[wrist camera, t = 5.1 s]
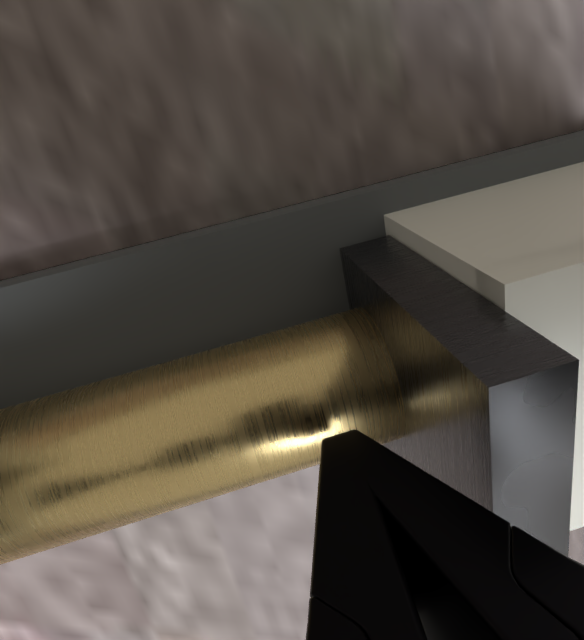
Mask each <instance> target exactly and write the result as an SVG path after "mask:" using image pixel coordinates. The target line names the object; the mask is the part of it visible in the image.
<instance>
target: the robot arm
mask: <svg viewBox="0 0 584 640" xmlns="http://www.w3.org/2000/svg"><path fill="white" fill-rule="evenodd" d="M310 597H311V598H310V600H309V611H308V624H307V633H306V640H584V565H583V564H581V563H579V562H577V561H575V560H573V559H571V558H569V557H567V556H566V555H564V554H562V553H560V552H559V551H557V550H555V549H553V548H552V547H550V546H548V545H547V544H545V543H543V542H541V541H540V540H538V539H536V538H534V537H533V536H531V535H530V534H528V533H526V532H525V531H523V530H521V529H520V528H518V527H516V526H512V527H511V524H510V523H509V522H508V521H506V520H505V519H503V518H501V517H500V516H498V515H496V514H495V513H493V512H491V511H490V510H488V509H486V508H485V507H483V506H482V505H480V504H478V503H477V502H475V501H473V500H472V499H470V498H468V497H467V496H465V495H463V494H462V493H460V492H459V491H457V490H455V489H454V488H452V487H450V486H449V485H447V484H445V483H444V482H442V481H440V480H439V479H437V478H436V477H434V476H432V475H431V474H429V473H427V472H426V471H424V470H422V469H421V468H419V467H417V466H416V465H414V464H413V463H411V462H409V461H408V460H406V459H404V458H403V457H401V456H399V455H398V454H396V453H395V452H393V451H391V450H390V449H388V448H386V447H385V446H383V445H381V444H380V443H378V442H376V441H375V440H373V439H372V438H370V437H368V436H367V435H365V434H363V433H362V432H360V431H358V430H355V429H354V430H350V431H346V432H343V433H340V434H337V435H334V436H331V437H328V438H325V439H323V440H322V443H321V456H320V470H319V483H318V496H317V509H316V523H315V536H314V549H313V562H312V576H311V589H310Z"/></svg>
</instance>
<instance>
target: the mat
mask: <svg viewBox="0 0 584 640" xmlns="http://www.w3.org/2000/svg"><path fill="white" fill-rule="evenodd" d="M580 162H584V130H581V131H578V132H574V133H570V134H566V135H562V136H558V137H554V138H550V139H547V140H543V141H539V142H535V143H531V144H527V145H523V146H520V147H516V148H512V149H508V150H504V151H500V152H496V153H493V154H489V155H485V156H481V157H477V158H473V159H469V160H465V161H462V162H458V163H454V164H450V165H446V166H442V167H438V168H435V169H431V170H427V171H423V172H419V173H415V174H411V175H408V176H404V177H400V178H396V179H392V180H388V181H384V182H380V183H377V184H373V185H369V186H365V187H361V188H357V189H353V190H350V191H346V192H342V193H338V194H334V195H330V196H326V197H323V198H319V199H315V200H311V201H307V202H303V203H299V204H295V205H292V206H288V207H284V208H280V209H276V210H272V211H268V212H265V213H261V214H257V215H253V216H249V217H245V218H241V219H238V220H234V221H230V222H226V223H222V224H218V225H214V226H210V227H207V228H203V229H199V230H195V231H191V232H187V233H183V234H180V235H176V236H172V237H168V238H164V239H160V240H156V241H153V242H149V243H145V244H141V245H137V246H133V247H129V248H125V249H122V250H118V251H114V252H110V253H106V254H102V255H98V256H95V257H91V258H87V259H83V260H79V261H75V262H71V263H68V264H64V265H60V266H56V267H52V268H48V269H44V270H40V271H37V272H33V273H29V274H25V275H21V276H17V277H13V278H10V279H6V280H2V281H0V409H3V408H7V407H10V406H14V405H17V404H21V403H24V402H28V401H31V400H35V399H38V398H42V397H45V396H49V395H52V394H56V393H59V392H63V391H66V390H70V389H73V388H77V387H80V386H84V385H87V384H91V383H94V382H98V381H102V380H105V379H109V378H112V377H116V376H119V375H123V374H126V373H130V372H133V371H137V370H140V369H144V368H147V367H151V366H154V365H158V364H161V363H165V362H168V361H172V360H175V359H179V358H182V357H186V356H190V355H193V354H197V353H200V352H204V351H207V350H211V349H214V348H218V347H221V346H225V345H228V344H232V343H235V342H239V341H242V340H246V339H249V338H253V337H256V336H260V335H263V334H267V333H270V332H274V331H278V330H281V329H285V328H288V327H292V326H295V325H299V324H302V323H306V322H309V321H313V320H316V319H320V318H323V317H327V316H330V315H334V314H337V313H341V312H344V311H348V310H350V308H349V302H348V296H347V291H346V285H345V279H344V273H343V267H342V261H341V255H340V250H339V248H342V247H346V246H350V245H354V244H357V243H361V242H365V241H368V240H372V239H376V238H379V237H383V236H386V230H385V222H384V215H385V214H389V213H392V212H396V211H400V210H404V209H407V208H411V207H415V206H419V205H422V204H426V203H430V202H434V201H438V200H441V199H445V198H449V197H453V196H456V195H460V194H464V193H468V192H471V191H475V190H479V189H483V188H486V187H490V186H494V185H498V184H501V183H505V182H509V181H513V180H516V179H520V178H524V177H528V176H532V175H535V174H539V173H543V172H547V171H550V170H554V169H558V168H562V167H565V166H569V165H573V164H577V163H580Z"/></svg>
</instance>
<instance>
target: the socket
mask: <svg viewBox="0 0 584 640" xmlns="http://www.w3.org/2000/svg"><path fill="white" fill-rule="evenodd" d="M384 222H385V230H386V236H387V235H390V236H391V237H393V238H394V239H396V240H397V241H399V242H400V243H402V244H403V245H405V246H407V247H408V248H410V249H411V250H413V251H414V252H416V253H417V254H419V255H420V256H422V257H423V258H425V259H426V260H428V261H429V262H431V263H432V264H434V265H435V266H437V267H439V268H440V269H442V270H443V271H445V272H446V273H448V274H449V275H451V276H452V277H454V278H455V279H457V280H458V281H460V282H461V283H463V284H464V285H466V286H467V287H469V288H471V289H472V290H474V291H475V292H477V293H478V294H480V295H481V296H483V297H484V298H486V299H487V300H489V301H490V302H492V303H493V304H495V305H496V306H498V307H499V308H501V309H503V310H504V311H506V312H507V313H509V314H510V315H512V316H513V317H515V318H516V319H518V320H519V321H521V322H522V323H524V324H525V325H527V326H528V327H530V328H532V329H533V330H535V331H536V332H538V333H539V334H541V335H542V336H544V337H545V338H547V339H548V340H550V341H551V342H553V343H554V344H556V345H557V346H559V347H560V348H562V349H564V350H565V351H567V352H568V353H570V354H571V355H573V356H574V357H576V358H577V359H579V373H578V390H577V408H576V425H575V443H574V460H573V478H572V496H571V513H570V531H572V530H575V529H578V528H581V527H583V526H584V162H580V163H577V164H573V165H569V166H565V167H562V168H558V169H554V170H550V171H547V172H543V173H539V174H535V175H532V176H528V177H524V178H520V179H516V180H513V181H509V182H505V183H501V184H498V185H494V186H490V187H486V188H483V189H479V190H475V191H471V192H468V193H464V194H460V195H456V196H453V197H449V198H445V199H441V200H438V201H434V202H430V203H426V204H422V205H419V206H415V207H411V208H407V209H404V210H400V211H396V212H392V213H389V214H385V215H384Z"/></svg>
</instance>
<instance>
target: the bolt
mask: <svg viewBox="0 0 584 640" xmlns="http://www.w3.org/2000/svg"><path fill="white" fill-rule="evenodd" d="M339 250H340V255H341V261H342V267H343V273H344V279H345V285H346V291H347V296H348V302H349V308H350V310H348V311H344V312H341V313H337V314H334V315H330V316H327V317H323V318H320V319H316V320H313V321H309V322H306V323H302V324H299V325H295V326H292V327H288V328H285V329H281V330H278V331H274V332H270V333H267V334H263V335H260V336H256V337H253V338H249V339H246V340H242V341H239V342H235V343H232V344H228V345H225V346H221V347H218V348H214V349H211V350H207V351H204V352H200V353H197V354H193V355H190V356H186V357H182V358H179V359H175V360H172V361H168V362H165V363H161V364H158V365H154V366H151V367H147V368H144V369H140V370H137V371H133V372H130V373H126V374H123V375H119V376H116V377H112V378H109V379H105V380H102V381H98V382H94V383H91V384H87V385H84V386H80V387H77V388H73V389H70V390H66V391H63V392H59V393H56V394H52V395H49V396H45V397H42V398H38V399H35V400H31V401H28V402H24V403H21V404H17V405H14V406H10V407H7V408H3V409H0V564H4V563H7V562H10V561H13V560H16V559H19V558H23V557H26V556H29V555H32V554H35V553H38V552H42V551H45V550H48V549H51V548H54V547H58V546H61V545H64V544H67V543H70V542H73V541H77V540H80V539H83V538H86V537H89V536H92V535H96V534H99V533H102V532H105V531H108V530H112V529H115V528H118V527H121V526H124V525H127V524H131V523H134V522H137V521H140V520H143V519H147V518H150V517H153V516H156V515H159V514H162V513H166V512H169V511H172V510H175V509H178V508H181V507H185V506H188V505H191V504H194V503H197V502H201V501H204V500H207V499H210V498H213V497H216V496H220V495H223V494H226V493H229V492H232V491H235V490H239V489H242V488H245V487H248V486H251V485H255V484H258V483H261V482H264V481H267V480H270V479H274V478H277V477H280V476H283V475H286V474H289V473H293V472H296V471H299V470H302V469H305V468H309V467H312V466H315V465H318V464H320V456H321V443H322V440H323V439H325V438H328V437H331V436H334V435H337V434H340V433H343V432H346V431H350V430H354V429H355V430H358V431H360V432H362V433H363V434H365V435H367V436H368V437H370V438H372V439H373V440H375V441H376V442H378V443H380V444H381V445H383V446H385V447H386V448H388V449H390V450H391V451H393V452H395V453H396V454H398V455H399V456H401V457H403V458H404V459H406V460H408V461H409V462H411V463H413V464H414V465H416V466H417V467H419V468H421V469H422V470H424V471H426V472H427V473H429V474H431V475H432V476H434V477H436V478H437V479H439V480H440V481H442V482H444V483H445V484H447V485H449V486H450V487H452V488H454V489H455V490H457V491H459V492H460V493H462V494H463V495H465V496H467V497H468V498H470V499H472V500H473V501H475V502H477V503H478V504H480V505H482V506H483V507H485V508H486V509H488V510H490V511H491V512H493V513H495V514H496V515H498V516H500V517H501V518H503V519H505V520H506V521H508V522H509V523H510V524H511V527H512V526H516V527H518V528H520V529H521V530H523V531H525V532H526V533H528V534H530V535H531V536H533V537H534V538H536V539H538V540H540V541H541V542H543V543H545V544H547V545H548V546H550V547H552V548H553V549H555V550H557V551H559V552H560V553H562V554H564V555H566V556H567V557H568V548H569V531H570V513H571V496H572V478H573V460H574V443H575V425H576V408H577V390H578V373H579V359H577V358H576V357H574V356H573V355H571V354H570V353H568V352H567V351H565V350H564V349H562V348H560V347H559V346H557V345H556V344H554V343H553V342H551V341H550V340H548V339H547V338H545V337H544V336H542V335H541V334H539V333H538V332H536V331H535V330H533V329H532V328H530V327H528V326H527V325H525V324H524V323H522V322H521V321H519V320H518V319H516V318H515V317H513V316H512V315H510V314H509V313H507V312H506V311H504V310H503V309H501V308H499V307H498V306H496V305H495V304H493V303H492V302H490V301H489V300H487V299H486V298H484V297H483V296H481V295H480V294H478V293H477V292H475V291H474V290H472V289H471V288H469V287H467V286H466V285H464V284H463V283H461V282H460V281H458V280H457V279H455V278H454V277H452V276H451V275H449V274H448V273H446V272H445V271H443V270H442V269H440V268H439V267H437V266H435V265H434V264H432V263H431V262H429V261H428V260H426V259H425V258H423V257H422V256H420V255H419V254H417V253H416V252H414V251H413V250H411V249H410V248H408V247H407V246H405V245H403V244H402V243H400V242H399V241H397V240H396V239H394V238H393V237H391V236H390V235H387V236H383V237H379V238H376V239H372V240H368V241H365V242H361V243H357V244H354V245H350V246H346V247H342V248H339Z"/></svg>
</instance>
